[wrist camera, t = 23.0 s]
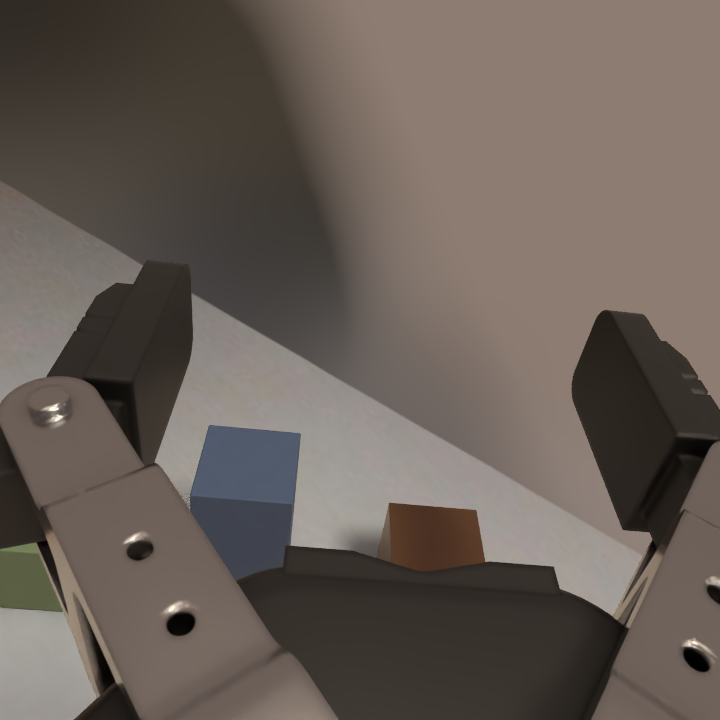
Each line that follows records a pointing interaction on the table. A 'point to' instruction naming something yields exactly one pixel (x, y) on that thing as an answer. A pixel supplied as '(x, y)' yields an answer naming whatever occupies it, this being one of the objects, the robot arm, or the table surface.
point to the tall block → (247, 495)
